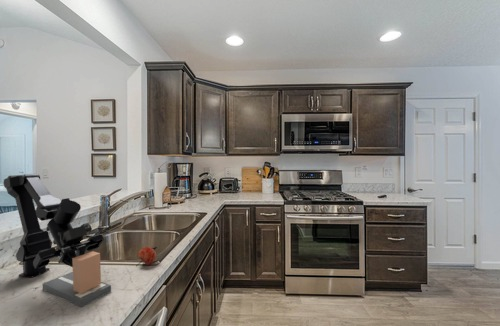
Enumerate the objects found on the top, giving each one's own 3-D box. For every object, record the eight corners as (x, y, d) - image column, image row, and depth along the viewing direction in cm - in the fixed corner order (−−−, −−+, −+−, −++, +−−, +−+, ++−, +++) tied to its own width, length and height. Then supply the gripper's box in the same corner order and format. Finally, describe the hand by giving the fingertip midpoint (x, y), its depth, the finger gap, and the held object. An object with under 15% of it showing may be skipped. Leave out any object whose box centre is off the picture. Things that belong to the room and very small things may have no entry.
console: (42, 289, 78) (42, 283, 78) (72, 277, 86) (72, 271, 86) (81, 307, 68) (80, 299, 68) (111, 291, 77) (110, 284, 77)
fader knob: (73, 290, 73) (72, 258, 73) (93, 281, 78) (92, 251, 78) (80, 293, 71) (79, 260, 71) (100, 283, 76) (100, 253, 76)
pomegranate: (140, 275, 91) (162, 256, 94) (127, 261, 91) (149, 242, 93) (143, 269, 99) (163, 251, 101) (131, 256, 98) (151, 239, 101)
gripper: (36, 224, 69) (57, 269, 65) (100, 211, 86) (121, 246, 81) (24, 247, 73) (44, 291, 68) (88, 230, 90) (107, 264, 85)
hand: (82, 270), depth 76 cm, fingers closed, pressing on fader knob
